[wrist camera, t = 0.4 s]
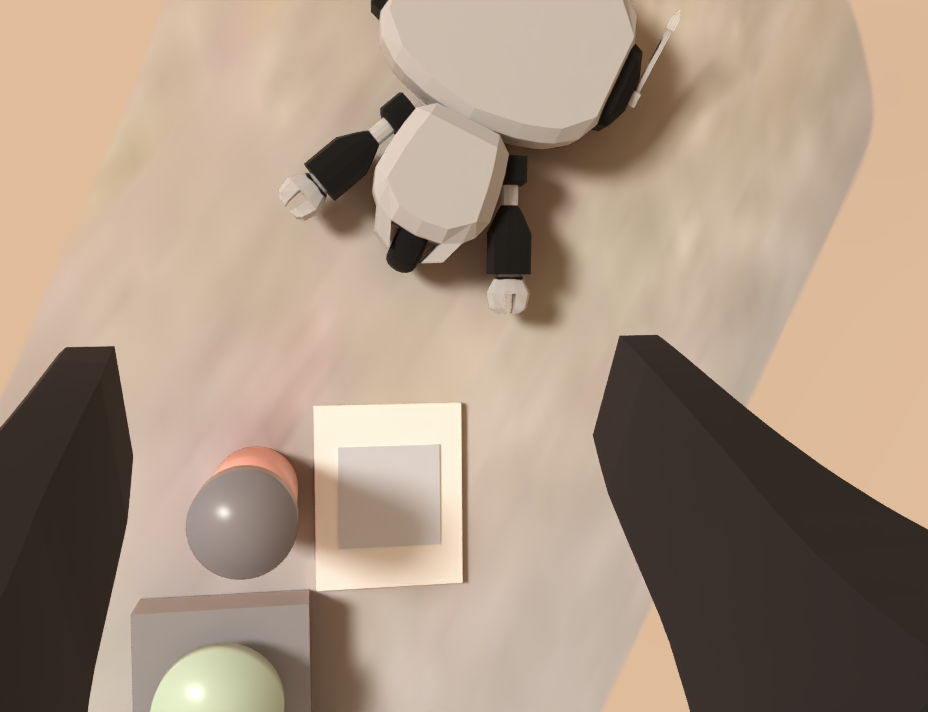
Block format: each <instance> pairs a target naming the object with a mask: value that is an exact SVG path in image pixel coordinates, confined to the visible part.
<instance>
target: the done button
mask: <svg viewBox="0 0 928 712" xmlns="http://www.w3.org/2000/svg"><path fill="white" fill-rule="evenodd" d="M284 704H285V697H284V690H283V685H282V682H281V679H280V677H279V675H278V673H277V671H276V669H275V668H274V667H273V665H272V664H271V663H270V662H269V661H268V660H267V659H266V658H265V657H264V656H262V655H261V654H260V653H258V652H257V651H255V650H253V649H251V648H249V647H246V646H244V645H240V644H236V643H228V642H220V643H211V644H207V645H203V646H200V647H198V648H195V649H193V650H191V651H189V652H187V653H186V654H184V655H183V656H182V657H180V658H179V659H178V660H177V661H176V662H174V663H173V664H172V666H171V667H170V668H169V669H168V670H167V672H166V673H165V675H164V676H163V678H162V680H161V682H160V684H159V686H158V689H157V691H156V693H155V695H154V698H153V701H152V704H151V710H150V712H284Z"/></svg>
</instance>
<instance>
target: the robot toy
mask: <svg viewBox="0 0 928 712" xmlns="http://www.w3.org/2000/svg"><path fill="white" fill-rule="evenodd" d="M371 12H372V13H373V14H374V15H375V17H376V18H377V19H378V20H379V29H380V49H381V51H382V53H383V55H384V57H385V59H386V60H387V62H388V64H389V66H390V68H391V70H392V71H393V73H394V74H395V75H396V76H397V77H398V79H399V80H400V81H401V82H402V83H403V84H404V85H405V86H406V87H407V88H408V89H410V90H411V91H412V92H413V93H414V94H415V95H416V96H417V97H418V98H419V99H420V100H422V101H423V102H424V103H426V104H427V105H425V106H420V107H416V108H415V107H414V106H413V105H412V103H411V102H410V101H409V100H408V98H407V97H406V96H405V95H404V94H403V93H398V94H397V95H396V96H395V97H393V98H392V99H391V100H390V101H388V102H387V103H386V104H385V105H384V106H382V107H381V108H380V113H381V118H382V119H381V120H379V121H378V122H377V123H376V124H375V125H373V126H372V127H371V128H370V129H369V130H367V131H362V132H356V133H352V134H348V135H344V136H340V137H336V138H335V139H334V140H332V141H331V142H330V143H329V144H328V145H326V146H325V147H324V148H323V149H321V150H320V151H319V152H318V153H317V154H315V155H314V156H313V157H312V158H311V159H309V160H308V161H307V162H306V163H305V164H304V165H305V166H306V168H307V169H308V171H309V172H310V173H304V174H300V175H295V176H291V177H288V179H287V180H286V181H285V182H284V184H283V185H282V186H281V188H280V189H279V199H280V200H281V201H282V203H283V204H284V205H285V206H286V205H287V204H288V202H289V201H290V200H291V199H292V198H294V197H295V196H296V195H297V194H298V193H299V192H300V191H301V193H302V194H303V195H304V196H305V197H306V198H307V200H306V201H305V202H304V203H302V204H301V205H300V206H298V207H297V208H296V209H294V210H291V211H290V212H291V213H292V214H293V215H294V217H295V218H296V219H300V220H307V219H309V218H311V217H313V216H315V215H317V214H319V213H320V211H321V208H322V206H323V204H324V201H325V199H326V196H327V193H328V195H329V196H330V197H331V198H332V199H333V200H334V201H335V200H336V199H338V198H339V197H340V196H341V195H342V194H344V193H345V192H346V191H347V190H348V189H350V188H351V187H352V186H353V185H354V184H356V183H357V182H358V181H359V180H360V179H362V178H363V177H364V176H365V175H366V174H367V172H368V170H369V168H370V166H371V163H372V161H373V159H374V157H375V154H376V152H377V149H378V147H379V145H380V144H381V143H382V142H383V141H385V140H386V139H387V138H388V137H389V136H391V135H392V134H393V133H394V134H395V136H394V138H393V139H392V141H391V142H390V144H389V146H388V147H387V149H386V151H385V152H384V154H383V156H382V157H381V159H380V161H379V162H378V164H377V166H376V168H375V171H374V176H373V185H372V195H373V198H374V201H375V204H376V214H375V227H374V233H375V234H376V236H377V237H378V238H379V239H380V241H381V242H382V243H383V245H384V246H385V247H386V248H389V243H390V230H391V224H392V225H394V226H395V227H397V228H398V231H397V233H396V235H395V237H394V239H393V242H392V244H391V246H390V248H389V251H388V253H387V258H386V260H387V262H388V264H389V265H390V266H391V267H392V268H393V269H395V270H396V271H399V272H402V273H408V272H411V271H413V270H414V268H415V267H416V266H417V264H418V263H443V262H444V261H445V260H446V259H447V258H448V257H449V256H450V255H451V254H452V253H453V252H454V251H455V250H456V249H457V248H458V247H459V246H460V245H461V244H462V243H464V242H467V241H469V240H472V239H474V238H476V237H477V236H478V235H479V234H480V233H481V232H482V231H483V230H484V229H485V227H486V226H487V225H488V224H489V223H490V221H491V218H492V215H493V212H494V209H495V206H496V204H497V201H498V198H499V195H500V191H501V206H500V208H499V210H498V211H497V213H496V215H495V217H494V219H493V221H492V224H491V226H490V228H489V230H488V232H487V274H497V275H496V276H495V277H494V279H493V281H492V283H491V285H490V287H489V289H488V291H487V298H488V302H489V307H490V309H491V310H493V311H494V312H495V313H498V314H506V312H505V294H512V309H511V313H512V314H519V313H521V312H522V311H524V310H525V309H526V308H527V304H528V300H529V296H530V292H529V290H528V288H527V285H526V283H525V281H524V279H523V277H522V276H521V275H520V274H531V232H530V230H529V228H528V225H527V223H526V221H525V219H524V216H523V214H522V212H521V210H520V208H519V206H518V187H519V186H522V185H524V184H525V183H526V182H527V156H518V155H509V153H508V151H507V149H506V147H505V145H504V143H506V144H510V145H515V146H521V147H526V148H532V149H548V148H554V147H560V146H566V145H569V144H571V143H573V142H575V141H576V140H578V139H580V138H581V137H582V136H583V135H585V134H586V133H587V132H588V131H590V130H595V131H599V130H601V129H603V128H605V127H607V126H608V125H609V124H611V123H612V122H613V121H614V120H615V119H617V118H618V117H619V116H620V115H621V114H622V113H623V112H624V111H625V109H626V107H627V105H628V106H630V107H632V108H634V107H635V105H636V103H637V101H638V100H639V98H640V96H641V94H640V93H639V92H640V90H641V88H642V87H643V85H644V83H645V81H646V79H647V77H648V75H649V74H650V72H651V70H652V68H653V66H654V64H655V62H656V61H657V59H658V57H659V55H660V53H661V51H662V49H663V48H664V46H665V44H666V42H667V40H668V38H669V36H670V35H671V33H672V32H674V30H675V28H676V26H677V24H678V22H679V20H680V11H679V12H677V13H676V14H675V15H674V16H673V17H672V18H671V20H670V21H669V23H668V25H667V27H666V29H667V30H666V31H665V33H664V35H663V37H662V39H661V41H660V43H659V44H658V46H657V48H656V50H655V52H654V54H653V56H652V57H651V59H650V61H649V63H648V65H647V67H646V69H645V71H644V72H643V74H642V76H641V78H640V70H641V60H642V51H641V50H640V48H639V47H638V46H637V45H636V44H635V39H636V23H637V15H636V12H635V10H634V8H633V6H632V4H631V2H630V0H371ZM427 243H431V244H434V245H435V246H434V247H433V248H432V249H431V250H430V251H429V252H428V253H427V254H426V255H425V256H424V257H423V258H422V259H421V260H420V258H421V256H422V254H423V252H424V250H425V247H426V245H427ZM419 260H420V261H419Z"/></svg>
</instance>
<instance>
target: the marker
mask: <svg viewBox="0 0 928 712" xmlns="http://www.w3.org/2000/svg"><path fill="white" fill-rule="evenodd" d="M297 498H298V480H297V475H296V473H295V470H294V468H293V467H292V465H291V464H290V462H289V461H288V460H287V459H286V458H285V457H284V456H283V455H281V454H280V453H278V452H276V451H274V450H272V449H269V448H265V447H248V448H243V449H241V450H238V451H236V452H234V453H232V454H231V455H229V456H228V457H227V458H226V459H225V460H224V461H223V462H222V463H221V464H220V466H219V467H218V469H217V470H216V472H215V473H214V475H213V477H211V478H210V479H209V480H208V481H207V482H206V483H205V484H204V485H203V487H202V488H201V490H200V491H199V492H198V494H197V495H196V497H195V498H194V500H193V502H192V504H191V506H190V508H189V511H188V514H187V519H186V536H187V540H188V544H189V546H190V549H191V551H192V552H193V554H194V556H195V557H196V559H197V560H198V561H199V562H200V563H201V564H202V565H203V566H204V567H205V568H207V569H208V570H209V571H211V572H213V573H214V574H217V575H219V576H221V577H225V578H229V579H238V580H244V579H251V578H255V577H259V576H261V575H264V574H266V573H268V572H270V571H271V570H273V569H274V568H276V567H277V566H278V565H279V564H280V563H281V562H282V561H283V560H284V559H285V558H286V557H287V555H288V553H289V552H290V550H291V548H292V546H293V544H294V541H295V538H296V534H297V526H298V507H297Z"/></svg>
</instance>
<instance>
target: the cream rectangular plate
mask: <svg viewBox="0 0 928 712" xmlns="http://www.w3.org/2000/svg"><path fill="white" fill-rule="evenodd" d="M314 468H315V537H316V591H327V590H344V589H361V588H379V587H396V586H413V585H431V584H448V583H463V573H462V442H461V402H449V403H405V404H362V405H319V406H314Z"/></svg>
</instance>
